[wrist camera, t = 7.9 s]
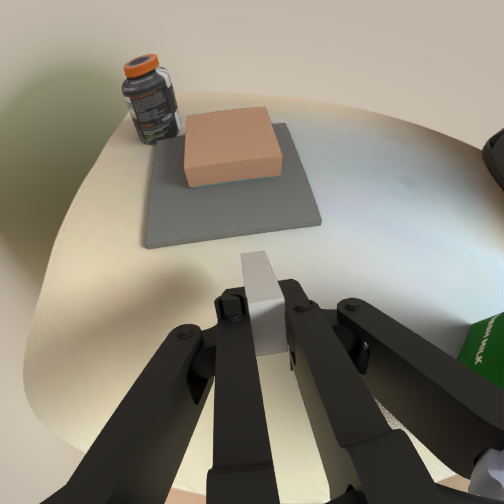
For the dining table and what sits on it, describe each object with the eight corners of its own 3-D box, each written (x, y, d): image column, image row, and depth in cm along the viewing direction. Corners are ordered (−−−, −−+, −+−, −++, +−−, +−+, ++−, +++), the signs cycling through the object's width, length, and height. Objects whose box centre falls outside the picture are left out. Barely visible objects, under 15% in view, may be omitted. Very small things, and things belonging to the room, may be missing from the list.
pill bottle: (189, 120, 33) (174, 47, 23) (170, 147, 31) (147, 68, 21) (153, 119, 34) (133, 53, 24) (132, 145, 32) (104, 74, 22)
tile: (280, 178, 26) (265, 126, 31) (282, 156, 24) (265, 106, 28) (190, 190, 26) (191, 136, 30) (184, 168, 23) (186, 116, 28)
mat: (285, 128, 32) (285, 123, 31) (320, 225, 25) (321, 220, 24) (158, 145, 31) (157, 140, 30) (148, 249, 24) (145, 245, 23)
